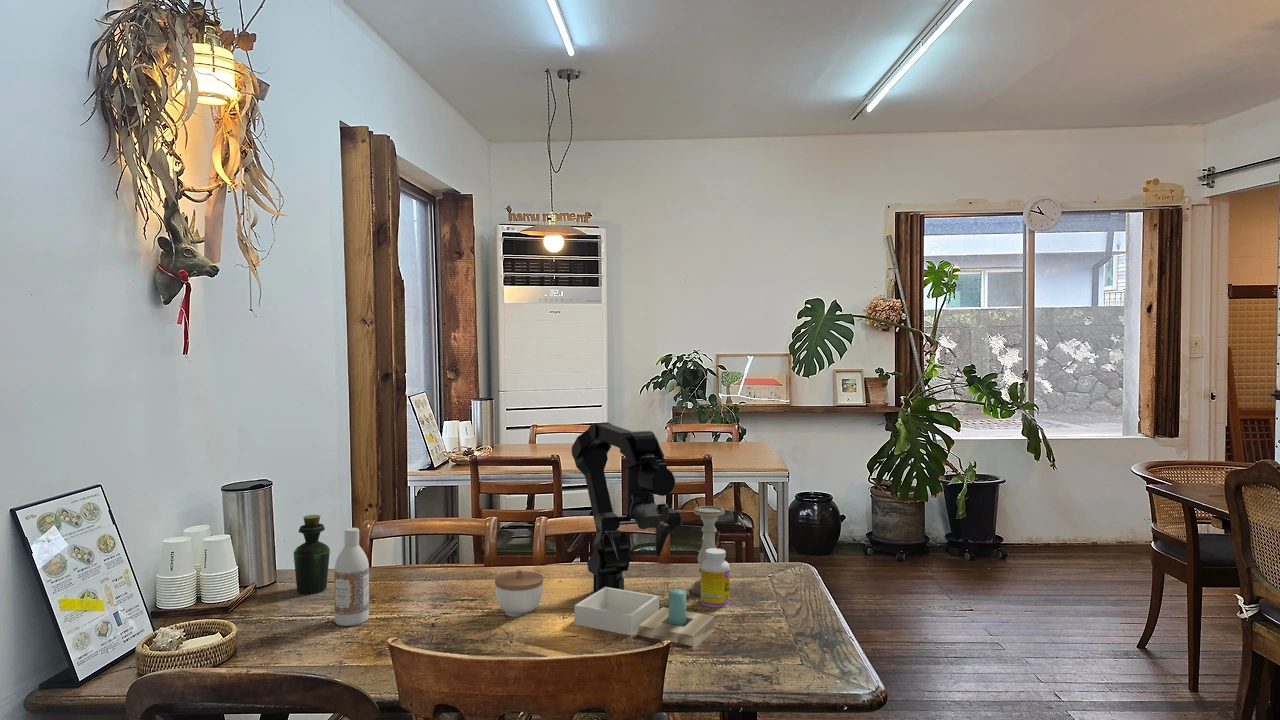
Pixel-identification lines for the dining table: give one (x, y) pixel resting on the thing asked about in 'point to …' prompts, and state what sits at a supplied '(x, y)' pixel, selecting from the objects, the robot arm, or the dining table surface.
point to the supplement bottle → (715, 578)
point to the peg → (677, 607)
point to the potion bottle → (311, 558)
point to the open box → (616, 610)
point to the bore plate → (678, 628)
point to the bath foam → (351, 582)
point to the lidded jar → (518, 592)
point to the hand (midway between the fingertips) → (638, 558)
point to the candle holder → (706, 536)
